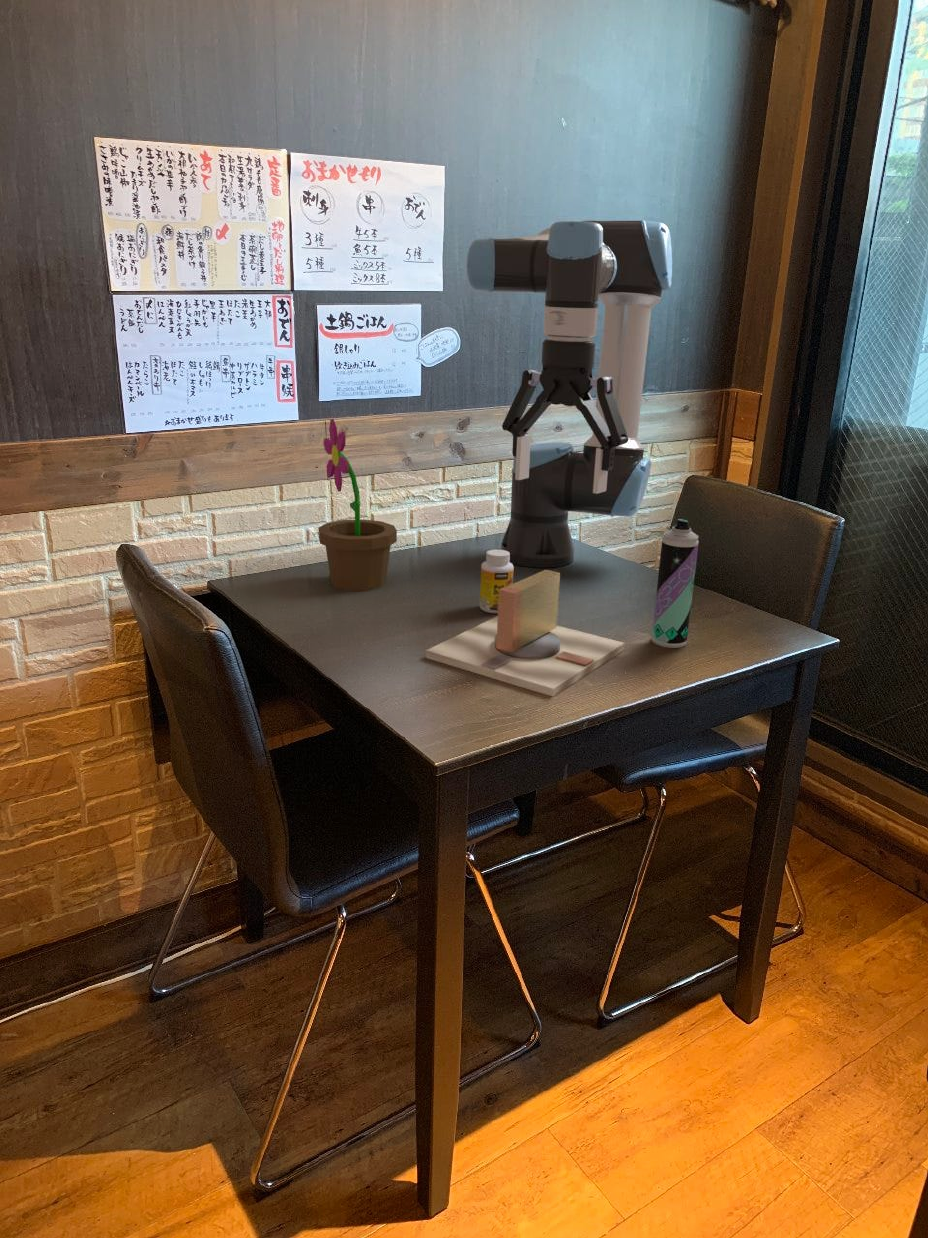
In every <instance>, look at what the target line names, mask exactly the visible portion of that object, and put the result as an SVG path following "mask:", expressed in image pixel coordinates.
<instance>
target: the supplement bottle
mask: <svg viewBox="0 0 928 1238" xmlns="http://www.w3.org/2000/svg"><path fill="white" fill-rule="evenodd" d="M509 560H510V553H509V552H508V551H505V550H500V549H490V550H487V551H486V555H485V561H483V562H482V563H481V567H480V585H479V587H480V588H479V589H480V591H479V608H480V609H481V610H482V611H483V612H485V613H489V614H497V615H498V599H499V589H501V588H504V587H506V586H509V585H512V584H514V570H515V569H514V568H515V567H514V564H512V563H510V562H509Z"/></svg>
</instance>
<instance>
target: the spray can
mask: <svg viewBox="0 0 928 1238" xmlns="http://www.w3.org/2000/svg"><path fill="white" fill-rule="evenodd" d="M662 536H663V537H662V538H661V539H662V540H661V548H660V558H659V566H658V577H657V585H656V596H655V605H654V613H653V624H652V634H651V635H652V636H651V641H652V643H654V644H655V645H656V646H660V647H662V648H669V649H670V648H671V649H673V648H675V649H677V648H678V649H679V648H682V647H683V648H684V646H687V642H688V635H689V633H688V632H689V626H690V625H689V624H690V618H691V617H690V616H691V606H692V600H693V592H694V584H695V574H696V567H697V558H698V550H699V535H698V534H696V533H695V532H693V531H692V528H691V527H690V525H689V521H688V520H687V519H685V518H677V520H676V524H675V525H674V526H672V528H671V529H669V530H668V531H665V532H663V535H662Z"/></svg>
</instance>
